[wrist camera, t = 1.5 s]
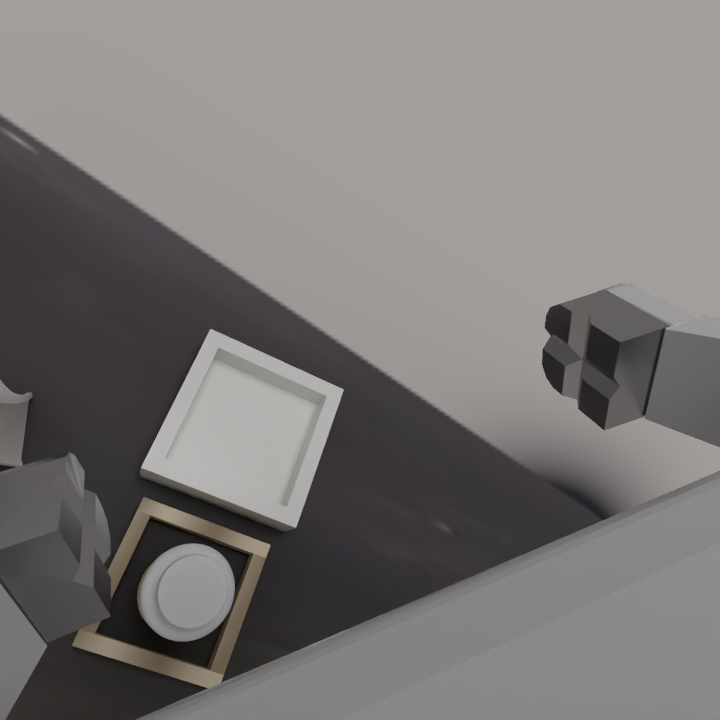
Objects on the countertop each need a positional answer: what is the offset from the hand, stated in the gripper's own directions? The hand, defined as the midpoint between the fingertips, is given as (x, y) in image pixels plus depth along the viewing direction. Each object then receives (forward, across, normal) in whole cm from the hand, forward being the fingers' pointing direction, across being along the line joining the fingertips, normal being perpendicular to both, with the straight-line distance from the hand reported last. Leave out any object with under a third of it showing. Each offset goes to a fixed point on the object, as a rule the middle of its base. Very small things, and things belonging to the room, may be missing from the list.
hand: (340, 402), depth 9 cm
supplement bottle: (+22, +9, +30) cm, 38 cm away
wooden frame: (+22, +9, +29) cm, 38 cm away
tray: (+30, +1, +24) cm, 39 cm away
